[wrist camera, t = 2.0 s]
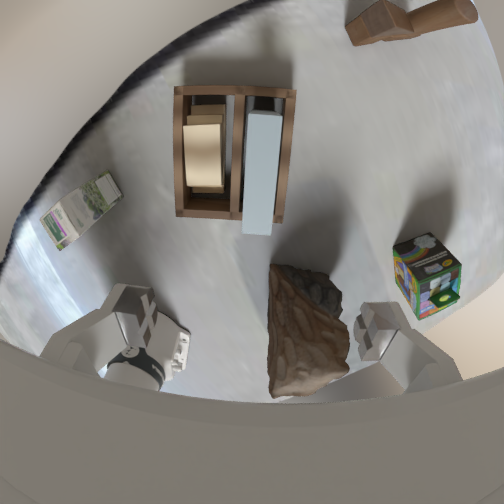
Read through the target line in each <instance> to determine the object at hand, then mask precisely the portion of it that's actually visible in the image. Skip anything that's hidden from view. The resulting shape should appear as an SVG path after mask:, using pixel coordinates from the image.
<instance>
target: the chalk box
mask: <svg viewBox="0 0 504 504" xmlns="http://www.w3.org/2000/svg"><path fill="white" fill-rule="evenodd" d="M393 256H394V268H395V279H396V284H397V285H398V287H399V288H400V290H401V292H402V293H403V295H404V297H405V298H406V300H407V302H408V303H409V305H410V307H411V308H412V310H413V312H414V314H415V315H416V317H417V319H418V320H422V319H424V318H426V317H428V316H431V315H433V314H435V313H437V312H439V311H441V310H443V309H445V308H447V307H449V306H451V305H452V304H454V303H456V302H457V300H458V299H460V296H459V289H460V283H461V279H460V278H461V267H462V264H461V263H460V262H459V261H458V260H457V259H456V258H455V257H454V256H453V255H452V254H451V253H450V251H449V250H448V249H447V248H446V247H445V246H444V245H443V244H442V243H441V242H440V241H439V240H438V239H437V238H436V237H435V236H434V235H433V234H432V233H428V234H426V235H423V236H420V237H417V238H415V239H412V240H410V241H407V242H404V243H401V244H399V245H396V246H393Z"/></svg>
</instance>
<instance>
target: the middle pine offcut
mask: <svg viewBox="0 0 504 504" xmlns="http://www.w3.org/2000/svg"><path fill="white" fill-rule="evenodd" d="M208 123H222V152H223V156H224V114H207V115H189V116H187V125H190V124H208ZM222 185H223V182H222ZM222 185H192V186H189V187H222Z"/></svg>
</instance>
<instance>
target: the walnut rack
mask: <svg viewBox="0 0 504 504" xmlns="http://www.w3.org/2000/svg"><path fill="white" fill-rule="evenodd" d="M296 91H297V90H292V89H282V88H272V87H258V86H238V85H195V86H175V87H174V107H173V158H174V189H175V209H176V217H192V218H210V219H227V220H242V217H243V200H241V192H242V172H243V154H244V137H245V120H246V104H247V96H259V97H272V98H283V104H282V116H283V117H282V128H281V140H280V151H279V161H278V172H277V182H276V192H275V202H274V211H273V221H272V223H283V215H284V207H285V199H286V190H287V181H288V172H289V163H290V154H291V144H292V134H293V124H294V113H295V102H296ZM192 95H235V106H234V124H233V145H232V167H231V194H230V199H221V198H201V197H192V191H191V187H189V186H187V180H186V166H185V150H184V131H183V126H185V125H187V116H189V115H191V105H192Z"/></svg>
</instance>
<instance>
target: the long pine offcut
mask: <svg viewBox="0 0 504 504" xmlns="http://www.w3.org/2000/svg"><path fill="white" fill-rule="evenodd" d="M207 114H224V156H223V185H222V187H193V193H224V191H225V151H226V105H191V115H207Z"/></svg>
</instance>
